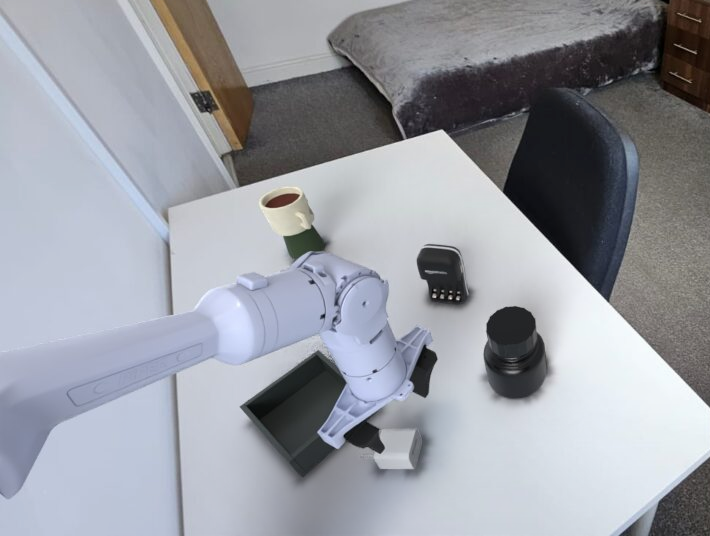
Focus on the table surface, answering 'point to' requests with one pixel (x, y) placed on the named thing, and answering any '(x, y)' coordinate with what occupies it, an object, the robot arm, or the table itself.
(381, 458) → the usb wall charger
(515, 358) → the ink bottle
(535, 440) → the table surface
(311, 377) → the open storage tray
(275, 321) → the robot arm
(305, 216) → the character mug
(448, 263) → the battery charger
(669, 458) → the table surface
